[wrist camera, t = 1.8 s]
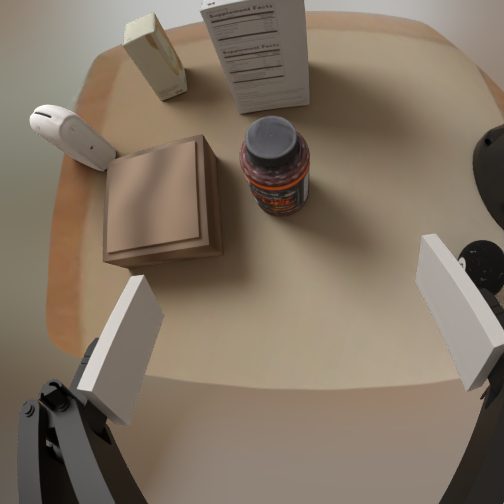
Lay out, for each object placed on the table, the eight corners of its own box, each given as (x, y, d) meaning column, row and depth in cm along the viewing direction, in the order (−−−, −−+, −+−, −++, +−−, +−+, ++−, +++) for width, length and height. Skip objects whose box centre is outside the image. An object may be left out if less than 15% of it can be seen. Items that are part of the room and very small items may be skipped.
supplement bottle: (253, 218, 32) (227, 172, 21) (255, 168, 33) (232, 108, 22) (310, 217, 31) (311, 169, 20) (308, 166, 32) (306, 103, 21)
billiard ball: (486, 301, 26) (516, 298, 20) (446, 298, 27) (473, 295, 21) (487, 250, 27) (516, 238, 21) (448, 243, 28) (474, 230, 22)
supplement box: (311, 106, 34) (306, -5, 17) (238, 116, 35) (197, 12, 19) (298, 58, 36) (287, -39, 19) (235, 67, 37) (202, -26, 21)
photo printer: (122, 150, 37) (69, 102, 25) (106, 176, 37) (48, 134, 25) (83, 135, 40) (36, 96, 28) (69, 158, 39) (18, 122, 27)
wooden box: (215, 156, 34) (201, 132, 29) (223, 254, 32) (208, 244, 27) (129, 177, 36) (106, 160, 31) (127, 268, 34) (101, 261, 28)
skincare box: (188, 91, 37) (154, 31, 25) (160, 102, 38) (121, 47, 26) (184, 65, 39) (154, 10, 27) (158, 76, 39) (124, 23, 27)
